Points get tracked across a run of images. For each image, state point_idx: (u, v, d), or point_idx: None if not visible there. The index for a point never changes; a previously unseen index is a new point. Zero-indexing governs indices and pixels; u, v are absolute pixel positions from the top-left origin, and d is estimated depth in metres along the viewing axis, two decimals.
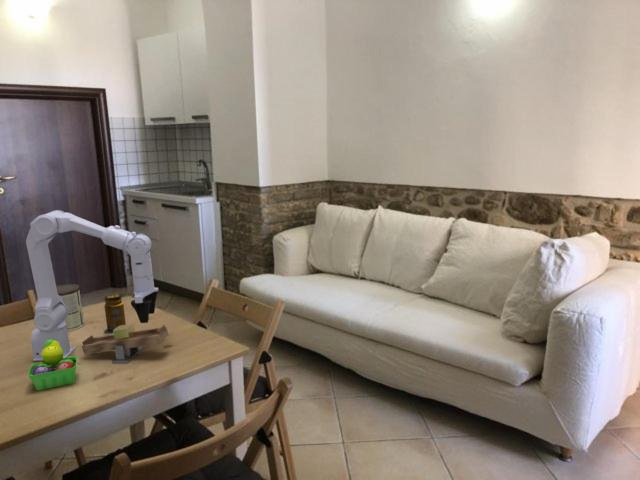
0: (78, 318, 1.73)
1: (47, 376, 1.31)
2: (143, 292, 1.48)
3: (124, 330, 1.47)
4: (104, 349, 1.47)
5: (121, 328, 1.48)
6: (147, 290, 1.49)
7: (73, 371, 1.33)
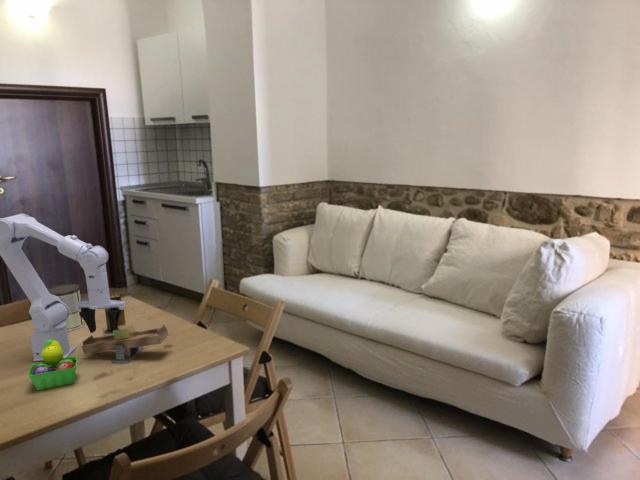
0: (78, 318, 1.73)
1: (47, 376, 1.31)
2: None
3: (124, 330, 1.47)
4: (104, 349, 1.47)
5: (121, 328, 1.48)
6: (89, 303, 1.46)
7: (73, 371, 1.33)
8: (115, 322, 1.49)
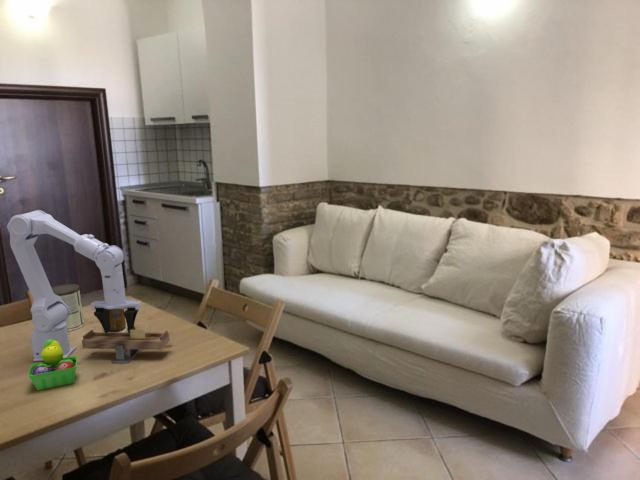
0: (78, 318, 1.73)
1: (47, 376, 1.31)
2: (105, 303, 1.47)
3: (141, 331, 1.46)
4: (104, 346, 1.47)
5: (139, 328, 1.47)
6: (105, 303, 1.46)
7: (73, 371, 1.33)
8: (132, 322, 1.49)
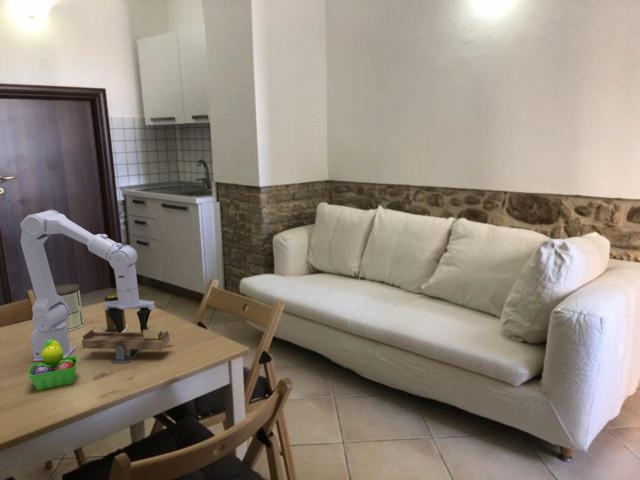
0: (78, 318, 1.73)
1: (47, 376, 1.31)
2: (118, 303, 1.47)
3: (154, 331, 1.46)
4: (104, 346, 1.47)
5: (152, 328, 1.47)
6: (118, 303, 1.46)
7: (73, 371, 1.33)
8: (145, 322, 1.48)
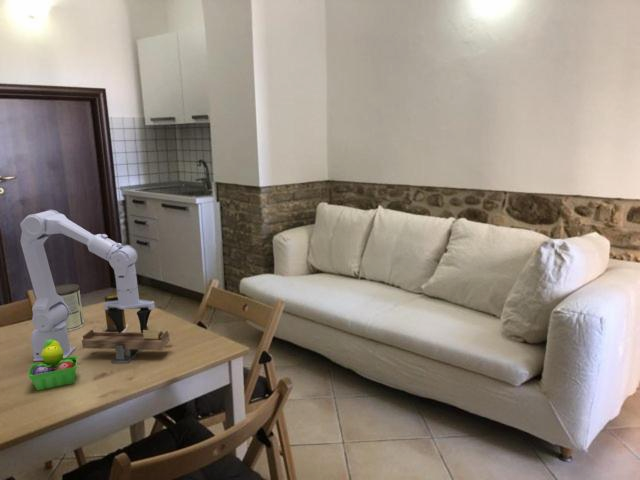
0: (78, 318, 1.73)
1: (47, 376, 1.31)
2: (118, 303, 1.47)
3: (154, 331, 1.46)
4: (104, 346, 1.47)
5: (152, 328, 1.47)
6: (118, 303, 1.46)
7: (73, 371, 1.33)
8: (145, 322, 1.48)
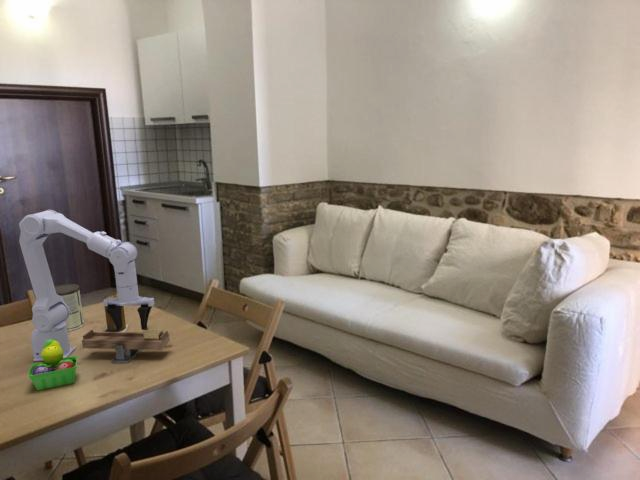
0: (78, 318, 1.73)
1: (47, 376, 1.31)
2: (118, 299, 1.47)
3: (154, 331, 1.46)
4: (104, 346, 1.47)
5: (152, 328, 1.47)
6: (118, 299, 1.45)
7: (73, 371, 1.33)
8: (145, 319, 1.48)
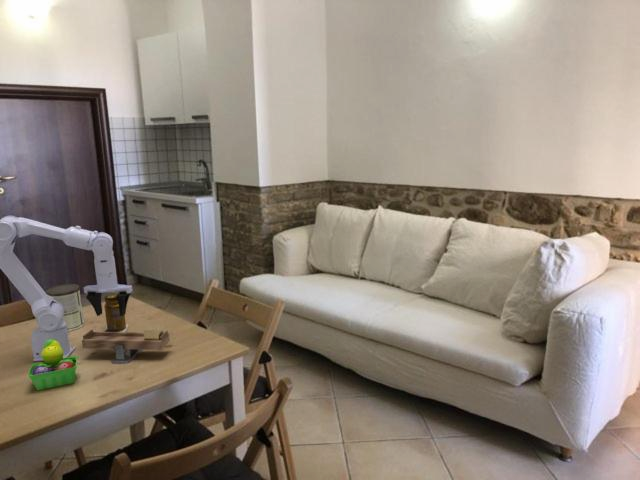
0: (78, 318, 1.73)
1: (47, 376, 1.31)
2: (97, 287, 1.54)
3: (154, 331, 1.46)
4: (104, 346, 1.47)
5: (152, 328, 1.47)
6: (97, 287, 1.52)
7: (73, 371, 1.33)
8: (124, 305, 1.55)
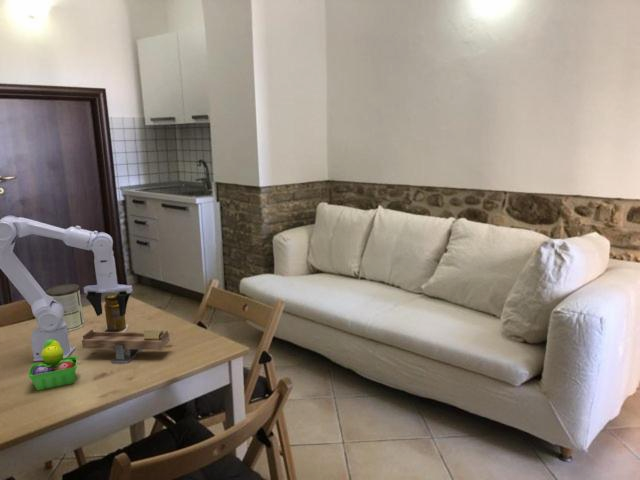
0: (78, 318, 1.73)
1: (47, 376, 1.31)
2: (97, 287, 1.54)
3: (155, 331, 1.46)
4: (104, 346, 1.47)
5: (152, 328, 1.47)
6: (97, 287, 1.52)
7: (73, 371, 1.33)
8: (124, 305, 1.55)
